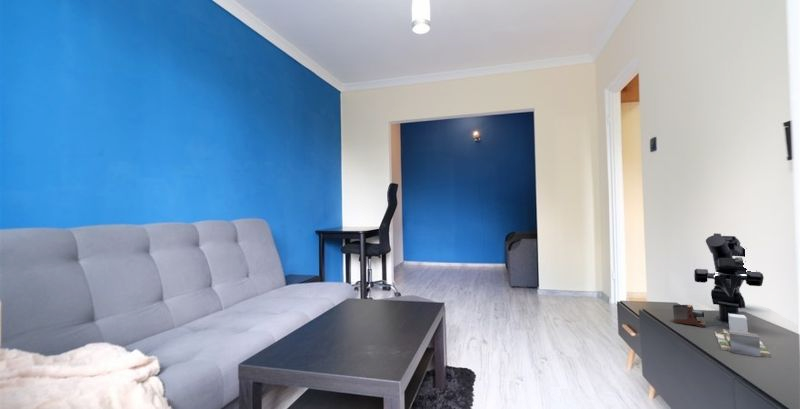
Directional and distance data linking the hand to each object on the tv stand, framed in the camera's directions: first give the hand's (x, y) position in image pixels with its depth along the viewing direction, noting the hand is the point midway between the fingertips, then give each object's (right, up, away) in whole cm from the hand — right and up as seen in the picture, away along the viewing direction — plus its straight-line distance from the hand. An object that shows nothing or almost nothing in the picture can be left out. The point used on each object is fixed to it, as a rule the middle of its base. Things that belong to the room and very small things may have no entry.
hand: (730, 296), depth 123 cm
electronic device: (-6, -14, +10) cm, 19 cm away
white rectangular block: (-8, -12, -8) cm, 17 cm away
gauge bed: (-8, -13, -11) cm, 19 cm away
